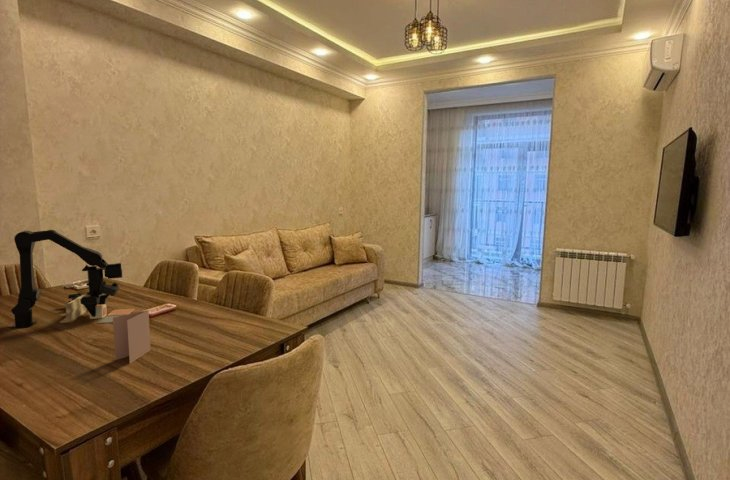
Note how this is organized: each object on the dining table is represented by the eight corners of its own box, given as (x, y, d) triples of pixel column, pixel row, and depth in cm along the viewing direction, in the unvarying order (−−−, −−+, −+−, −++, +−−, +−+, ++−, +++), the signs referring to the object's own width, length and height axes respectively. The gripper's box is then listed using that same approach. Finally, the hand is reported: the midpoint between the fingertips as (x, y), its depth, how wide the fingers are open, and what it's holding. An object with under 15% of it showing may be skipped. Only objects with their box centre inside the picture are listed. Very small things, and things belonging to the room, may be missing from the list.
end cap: (91, 308, 192) (90, 294, 191) (73, 311, 187) (72, 297, 186) (86, 304, 198) (85, 290, 198) (68, 306, 193) (67, 293, 193)
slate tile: (121, 322, 172) (121, 321, 172) (97, 323, 170) (97, 322, 170) (128, 315, 181) (128, 315, 181) (105, 317, 179) (105, 316, 179)
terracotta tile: (128, 315, 182) (128, 314, 182) (106, 316, 180) (106, 315, 180) (135, 309, 191) (134, 308, 191) (114, 310, 189) (113, 309, 189)
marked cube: (102, 318, 178) (102, 307, 177) (89, 318, 177) (89, 307, 176) (107, 314, 183) (106, 303, 182) (94, 315, 181) (93, 304, 181)
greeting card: (149, 349, 145) (147, 309, 143) (158, 354, 140) (156, 313, 138) (114, 359, 136) (111, 317, 134) (122, 365, 131) (120, 321, 129)
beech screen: (70, 322, 171) (69, 304, 170) (59, 323, 170) (58, 304, 169) (86, 311, 187) (85, 294, 186) (76, 311, 186) (75, 295, 185)
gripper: (108, 283, 170) (110, 318, 172) (123, 274, 188) (125, 306, 190) (78, 284, 168) (81, 320, 170) (96, 275, 186) (98, 307, 188)
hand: (98, 313), depth 179 cm, fingers open, 9 cm apart
